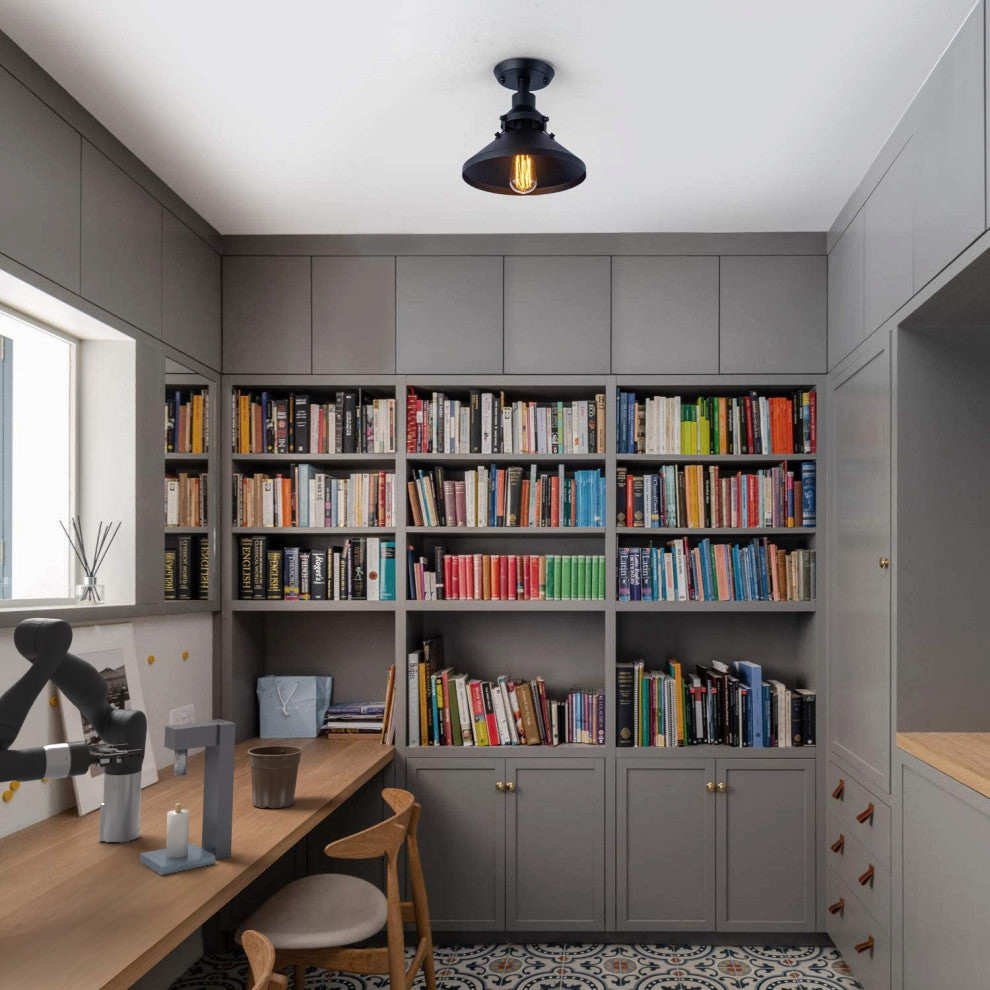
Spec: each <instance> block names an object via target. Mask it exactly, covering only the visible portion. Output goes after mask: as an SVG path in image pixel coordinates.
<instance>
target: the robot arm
mask: <svg viewBox="0 0 990 990" xmlns="http://www.w3.org/2000/svg"><path fill="white" fill-rule="evenodd" d="M73 636H74V634H73V628H72V626H71V625H70V623H69V622H68V621H67V620H64V619H60V618H59V619H58V618H47V617H46V618H43V617H32V618H27V619H24V620H23V621H21V622H19V623H18V624H17V626H15V629H14V631H13V643H14V646H15V648H16V649H17V652H18V653H19V655H21V656H22V657H23V658H24V659H25V660H27V662H29V663H30V664H32V665H31V666H30V668H29V669H28V670H27V671H26V673H24V674H23V676H21V677H20V678H19V679H18V680H17V681H16V682H15V683H14V684H12V685H11V687H9V688H8V689H6V691H5V692H4V693H3V694H2V695H1V696H0V784H1V783H7V782H12V781H14V782H17V783H18V782H20V783H21V782H22V783H25V782H32V781H38V780H54V779H62V778H63V779H64V778H69V777H77V776H78V777H79V776H83V775H86V774H87V773H88V772H89V769H90V766H91V765H95V766H96V767H100V768H104V771H103V772H104V774H103V776H104V777H103V797H102V798H103V799H102V802H101V804H100V806H99V807H100V809H99V810H100V812H99V828H98V829H99V831H98V842H99V841H101V842H102V841H106V842H105V843H108V842H120V843H127V842H131V841H130V840H132V841H134V839H135V840H137V839H139V837H140V831H141V827H140V825H141V824H140V823H141V801H142V795H141V794H142V778H143V777H142V776H143V775H142V774H143V763H144V759H145V756H146V755H145V754H146V742H147V733H148V721H147V716H146V714H145V713H144V712H143V711H142V710H137V709H136V710H135V709H122V708H121V709H120V708H119V709H118V708H116V707H113V706H112V705H111V704H110V703H109V702H108V701H107V698H108V693H109V685H108V683H107V681H106V679H105V678H104V677H103V675H102V674H101V673H100V672H99V670H97V669H96V667H94V666H93V664H91V663H89V662H88V661H86V660H84V659H82V658H80V657H79V656H78V655H74V654H72V653H71V652H69V650H70V647H71V645H72V643H73V642H72V641H73V638H74V637H73ZM49 680H50V681H51V683H53V685H55V687H57V688H58V690H60V692H61V693H62V694H63V695H64V697H65V698H67V700H68V701H69V702H70V703H71V704H72V705H73V706H74V707H75V708H76V709H77V710H78V711H79V712H80V713H81V715H83V716H84V718H85V719H86V720H87V721H88V722H89V724H90V725H91V727H92V728H93V730H94V731H95V733H96V734H97V736H98V737H99V739H100V740H102V742H103V743H101V744H91V745H89V744H88V743H87V742H86V741H85V740H76V741H69V742H62V743H61V742H60V743H59V742H58V743H53V744H48V745H44V746H43V745H42V746H35V747H28V748H27V747H26V748H20V749H10V747H11V746H12V745H13V744H14V743H15V741H16V740H17V737H18V735H19V734H20V731H21V729H22V727H23V724H24V723H25V721H26V719H27V716H28V714H29V713H30V710H31V709H32V707H33V706H34V703H35V701H36V700H37V698H39V695H40V694H41V692H42V691H43V689H44V688H45V686H46V685H47V683H48V682H49ZM136 838H137V839H136Z"/></svg>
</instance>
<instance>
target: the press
mask: <svg viewBox="0 0 990 990" xmlns="http://www.w3.org/2000/svg"><path fill="white" fill-rule="evenodd" d="M235 741H236V722H232V721H230V720H229V721H228V720H225V719H220V718H219V719H212V720H206V721H200V722H199V721H198V722H191V723H190V722H189V723H183V724H182V723H181V724H171V725H165V726H164V746H163V747H164V748H167V749H169V750H172V751H174V762H173V764H174V766H173V776H176V777H178V776H179V777H181V776H182V777H183V776H186V775H187V774H188V758H189V757H188V753H189V749H190V750H191V749H199V748H204V767H203V769H204V772H203V774H204V775H203V797H202V798H203V799H202V801H203V802H202V828H201V829H202V832H201V847H200V846H198V845H197V844H194V843H192V842H190V843H188V854H187V855H186V856H183V857H179V858H169V857H167V856H166V848H162V849H156V850H152V851H147V852H141V853H139V863H141V864H142V863H143V864H142V865H144V864H145V865H146V866H145V865H144V866H145V867H147V866H148V867H149V869H150V868H151V869H150V870H152V869H153V870H154V871H153V870H152V871H153V872H155V871H156V872H157V873H156V872H155V873H156V874H158V873H159V874H158V875H160V874H161V875H163V876H165V875H164V874H167V875H170V874H169V873H172V874H175V873H174V872H176V873H179V872H178V871H181V872H183V871H182V870H185V871H188V870H187V869H190V870H193V869H192V868H194V869H198V868H197V867H199V868H202V867H201V866H203V867H206V865H208V866H212V865H215V864H216V863H215V861H219V860H222V858H224V859H228V858H231V857H232V842H233V841H232V838H233V836H232V835H233V813H234V812H233V810H234V809H233V808H234V807H233V806H234V805H233V803H234V783H235V782H234V778H235V777H234V775H235V774H234V773H235V744H236V742H235ZM227 857H228V858H227ZM218 859H219V860H218ZM214 863H215V864H214ZM211 864H212V865H211ZM148 867H147V868H148ZM161 875H160V876H161Z"/></svg>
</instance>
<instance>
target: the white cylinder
mask: <svg viewBox="0 0 990 990" xmlns="http://www.w3.org/2000/svg"><path fill="white" fill-rule="evenodd" d="M174 807H175V808H174V809H173V810H169V811H168V812H167V814H166V841H165V842H166V845H165V847H166V856H167V857H169V858H179V857H183V856H186V855H187V854H188V844H189V833H190V832H189V829H190V828H189V822H190V821H189V820H190V810H188V809H182V803H181V802H178V803H175V806H174Z"/></svg>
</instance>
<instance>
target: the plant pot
mask: <svg viewBox="0 0 990 990" xmlns="http://www.w3.org/2000/svg"><path fill="white" fill-rule="evenodd" d="M303 751H304V750H303V748H301V747H299V746H292V745H265V746H257V747H253V748H250V749H248V750H247V754H248V755H249V765H250V771H251V790H252V792H251V793H252V805H253V806H254V807H255V806H256V807H255V808H258V807H259V809H265V808H269V809H271V808H272V809H282V807H284V808H286V806H287V807H291V806H292V805H293V804H294V803H295V795H296V787H297V778H298V770H299V764H300V762H301V755H302V753H304V752H303ZM292 803H293V804H292Z"/></svg>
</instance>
